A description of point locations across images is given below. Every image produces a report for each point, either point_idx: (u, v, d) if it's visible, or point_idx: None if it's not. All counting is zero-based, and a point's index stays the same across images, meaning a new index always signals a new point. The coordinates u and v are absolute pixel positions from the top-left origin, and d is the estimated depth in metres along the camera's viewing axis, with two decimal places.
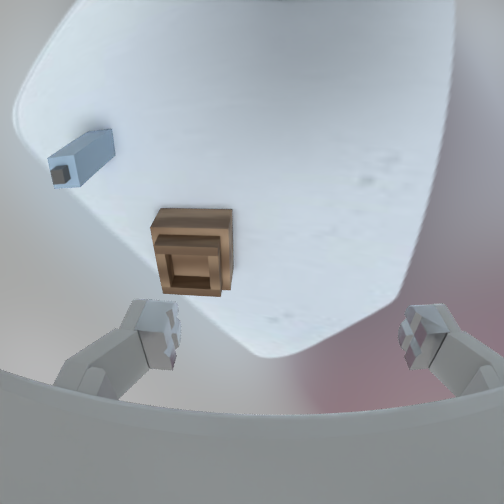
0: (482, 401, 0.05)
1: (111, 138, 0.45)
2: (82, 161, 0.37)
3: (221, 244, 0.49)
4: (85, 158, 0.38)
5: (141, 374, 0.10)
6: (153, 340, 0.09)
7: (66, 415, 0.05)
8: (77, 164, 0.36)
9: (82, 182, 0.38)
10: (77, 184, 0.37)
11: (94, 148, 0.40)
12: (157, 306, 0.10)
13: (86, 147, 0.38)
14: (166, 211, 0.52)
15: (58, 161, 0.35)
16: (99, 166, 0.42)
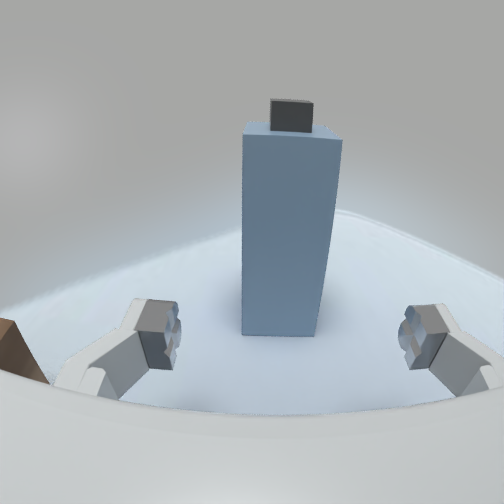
0: (482, 401, 0.05)
1: (291, 329, 0.19)
2: (305, 172, 0.15)
3: None
4: (305, 194, 0.15)
5: (141, 374, 0.10)
6: (153, 340, 0.09)
7: (66, 415, 0.05)
8: (308, 148, 0.14)
9: (249, 150, 0.14)
10: (251, 133, 0.14)
11: (309, 245, 0.17)
12: (157, 306, 0.10)
13: (330, 209, 0.15)
14: None
15: (319, 129, 0.16)
16: (249, 254, 0.17)
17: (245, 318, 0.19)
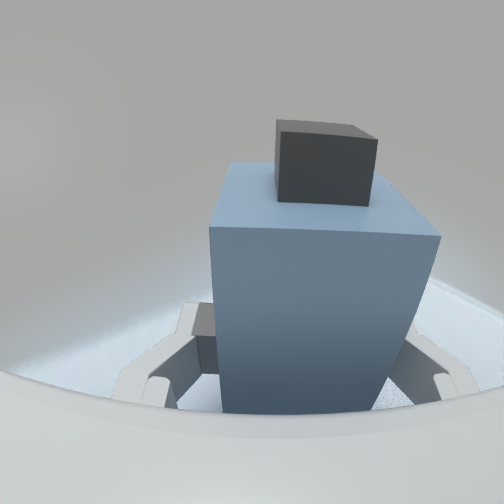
0: (482, 401, 0.05)
1: None
2: (354, 305, 0.07)
3: None
4: (347, 340, 0.07)
5: (194, 380, 0.09)
6: (211, 345, 0.09)
7: (66, 415, 0.05)
8: (366, 257, 0.06)
9: (227, 263, 0.06)
10: (232, 218, 0.06)
11: (341, 404, 0.08)
12: (211, 309, 0.10)
13: (389, 357, 0.07)
14: None
15: (373, 187, 0.08)
16: None
17: None
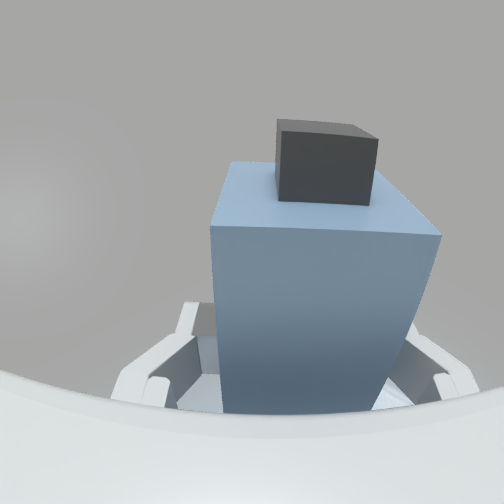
0: (482, 401, 0.05)
1: None
2: (355, 304, 0.07)
3: None
4: (348, 339, 0.07)
5: (194, 380, 0.09)
6: (211, 345, 0.09)
7: (66, 415, 0.05)
8: (367, 256, 0.06)
9: (228, 262, 0.06)
10: (233, 217, 0.06)
11: (342, 404, 0.08)
12: (211, 309, 0.10)
13: (390, 356, 0.07)
14: None
15: (374, 186, 0.08)
16: None
17: None
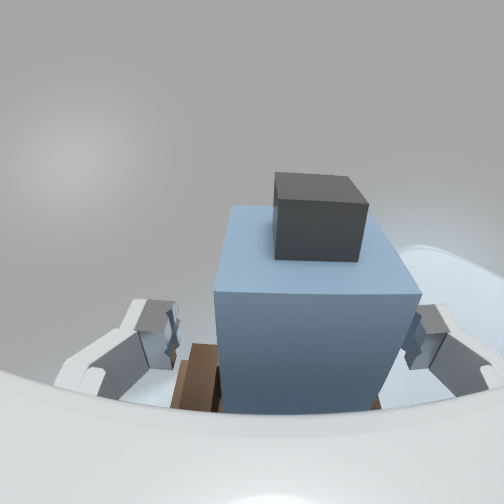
0: (482, 401, 0.05)
1: None
2: (341, 350, 0.07)
3: None
4: (335, 377, 0.08)
5: (141, 374, 0.10)
6: (153, 340, 0.09)
7: (66, 415, 0.05)
8: (352, 314, 0.07)
9: (229, 319, 0.07)
10: (234, 281, 0.07)
11: None
12: (157, 306, 0.10)
13: (374, 389, 0.08)
14: None
15: (365, 235, 0.09)
16: None
17: None
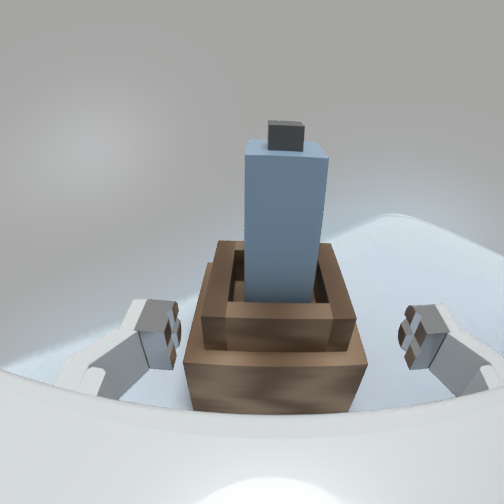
0: (482, 401, 0.05)
1: None
2: (297, 186, 0.18)
3: (326, 352, 0.20)
4: (297, 204, 0.18)
5: (141, 374, 0.10)
6: (153, 340, 0.09)
7: (66, 415, 0.05)
8: (299, 166, 0.17)
9: (250, 168, 0.17)
10: (252, 153, 0.17)
11: (302, 247, 0.20)
12: (157, 306, 0.10)
13: (319, 216, 0.18)
14: None
15: (310, 147, 0.19)
16: (250, 255, 0.20)
17: None
